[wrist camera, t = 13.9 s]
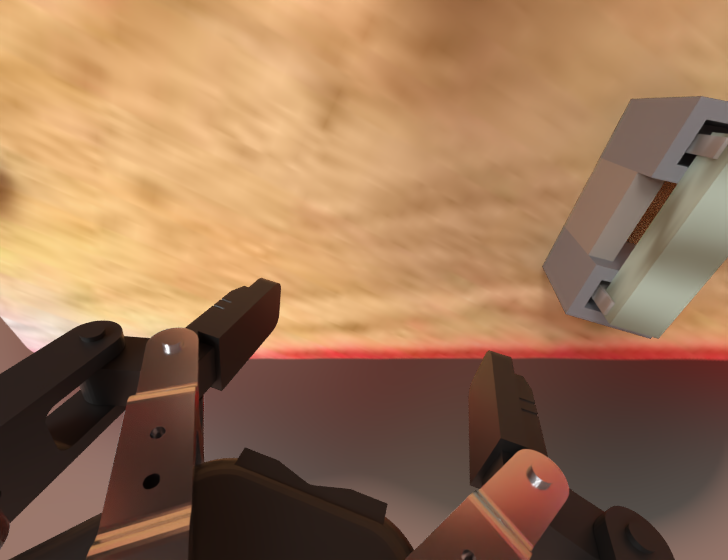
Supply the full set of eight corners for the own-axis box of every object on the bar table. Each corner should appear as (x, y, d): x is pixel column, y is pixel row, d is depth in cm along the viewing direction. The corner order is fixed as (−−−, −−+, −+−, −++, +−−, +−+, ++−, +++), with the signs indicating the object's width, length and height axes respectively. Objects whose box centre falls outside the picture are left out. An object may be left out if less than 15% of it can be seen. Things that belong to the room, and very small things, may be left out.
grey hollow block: (631, 98, 29) (701, 96, 20) (718, 116, 28) (830, 121, 19) (542, 266, 37) (565, 314, 29) (606, 284, 36) (650, 338, 28)
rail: (681, 128, 23) (742, 134, 18) (743, 141, 23) (823, 152, 18) (582, 286, 30) (606, 323, 25) (627, 299, 30) (661, 339, 25)
